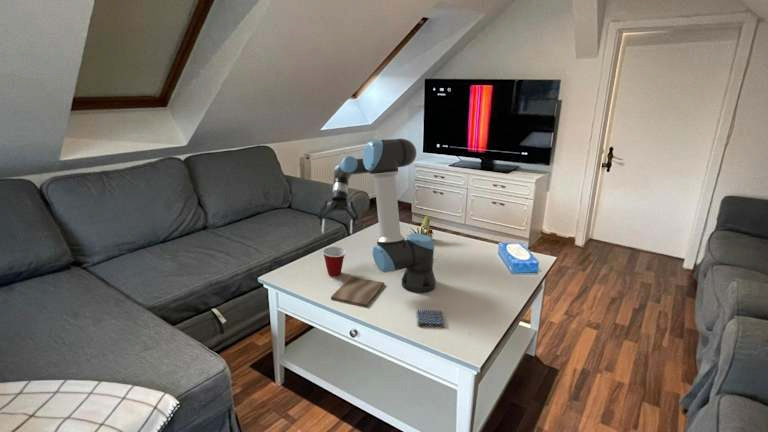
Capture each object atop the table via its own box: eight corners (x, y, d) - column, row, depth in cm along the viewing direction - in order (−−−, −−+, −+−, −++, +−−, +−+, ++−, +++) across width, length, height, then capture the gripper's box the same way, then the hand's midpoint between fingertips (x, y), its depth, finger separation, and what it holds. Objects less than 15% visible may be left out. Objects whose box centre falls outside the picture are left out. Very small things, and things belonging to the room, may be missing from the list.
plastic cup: (342, 280, 186) (342, 256, 183) (319, 278, 188) (319, 254, 185) (349, 270, 197) (349, 247, 193) (327, 267, 199) (327, 244, 195)
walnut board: (384, 284, 183) (384, 282, 183) (366, 307, 166) (366, 304, 165) (351, 278, 189) (351, 276, 188) (331, 299, 171) (330, 296, 171)
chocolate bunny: (415, 243, 229) (417, 217, 225) (426, 237, 238) (427, 213, 233) (426, 246, 226) (427, 220, 221) (436, 240, 234) (438, 215, 229)
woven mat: (442, 313, 163) (442, 309, 162) (445, 329, 153) (445, 324, 152) (415, 312, 163) (416, 308, 163) (417, 328, 153) (417, 323, 152)
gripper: (365, 197, 210) (363, 236, 201) (316, 196, 210) (312, 235, 201) (364, 190, 203) (362, 230, 194) (314, 189, 203) (309, 228, 194)
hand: (336, 232), depth 198 cm, fingers open, 13 cm apart
